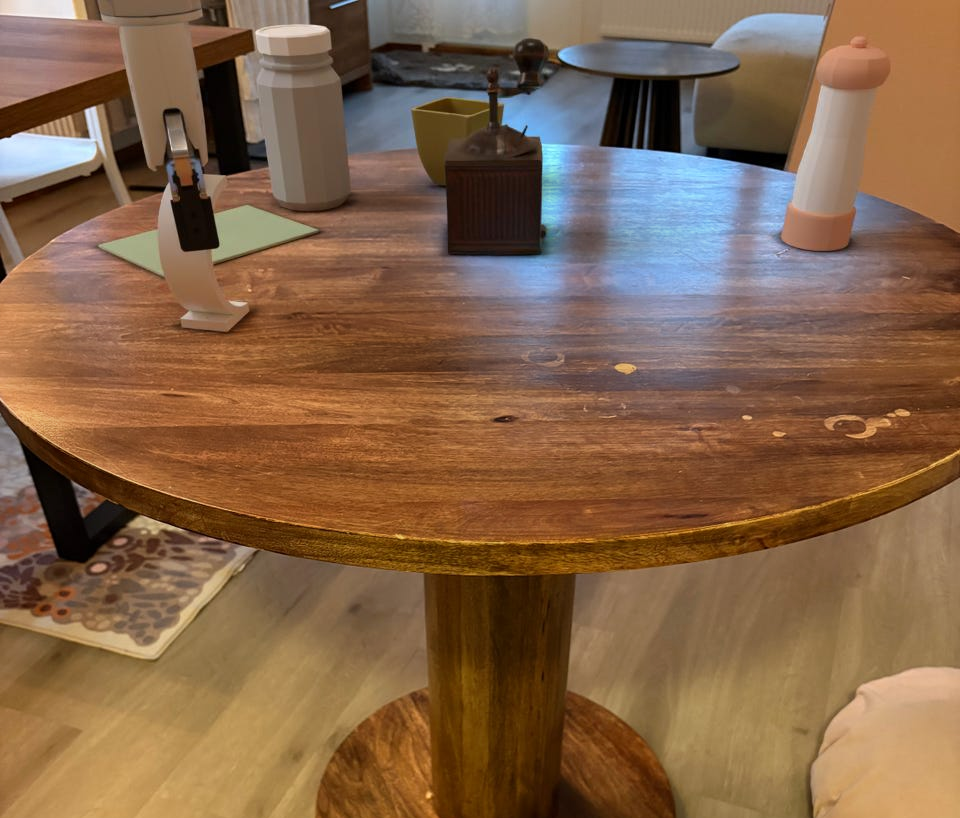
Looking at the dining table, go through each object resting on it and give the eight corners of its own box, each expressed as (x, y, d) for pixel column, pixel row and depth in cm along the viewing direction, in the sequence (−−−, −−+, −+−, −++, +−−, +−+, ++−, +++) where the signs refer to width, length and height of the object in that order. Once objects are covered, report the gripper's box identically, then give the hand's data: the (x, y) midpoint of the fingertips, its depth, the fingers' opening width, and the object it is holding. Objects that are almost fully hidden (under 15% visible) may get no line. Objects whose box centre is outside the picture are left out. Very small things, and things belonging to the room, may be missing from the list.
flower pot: (448, 171, 124) (446, 95, 118) (504, 179, 121) (505, 102, 115) (413, 187, 118) (409, 108, 112) (471, 196, 115) (470, 116, 109)
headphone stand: (249, 311, 88) (226, 175, 80) (222, 336, 83) (194, 195, 75) (205, 307, 89) (178, 172, 81) (176, 331, 84) (144, 192, 76)
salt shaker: (792, 226, 106) (833, 29, 93) (856, 236, 103) (907, 34, 90) (772, 244, 101) (812, 39, 89) (838, 255, 98) (889, 45, 86)
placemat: (166, 278, 94) (166, 275, 94) (98, 247, 102) (98, 244, 101) (319, 232, 105) (318, 229, 105) (247, 207, 112) (247, 204, 112)
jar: (290, 218, 109) (266, 39, 97) (262, 197, 115) (236, 27, 104) (364, 205, 113) (350, 31, 101) (333, 185, 119) (316, 20, 107)
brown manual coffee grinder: (547, 255, 99) (555, 61, 87) (445, 255, 99) (439, 61, 87) (543, 211, 111) (550, 34, 99) (452, 211, 111) (448, 35, 99)
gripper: (99, -15, 75) (152, 207, 86) (93, 14, 62) (156, 269, 74) (193, -20, 76) (232, 199, 88) (206, 8, 64) (250, 259, 75)
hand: (197, 231), depth 81 cm, fingers open, 9 cm apart
